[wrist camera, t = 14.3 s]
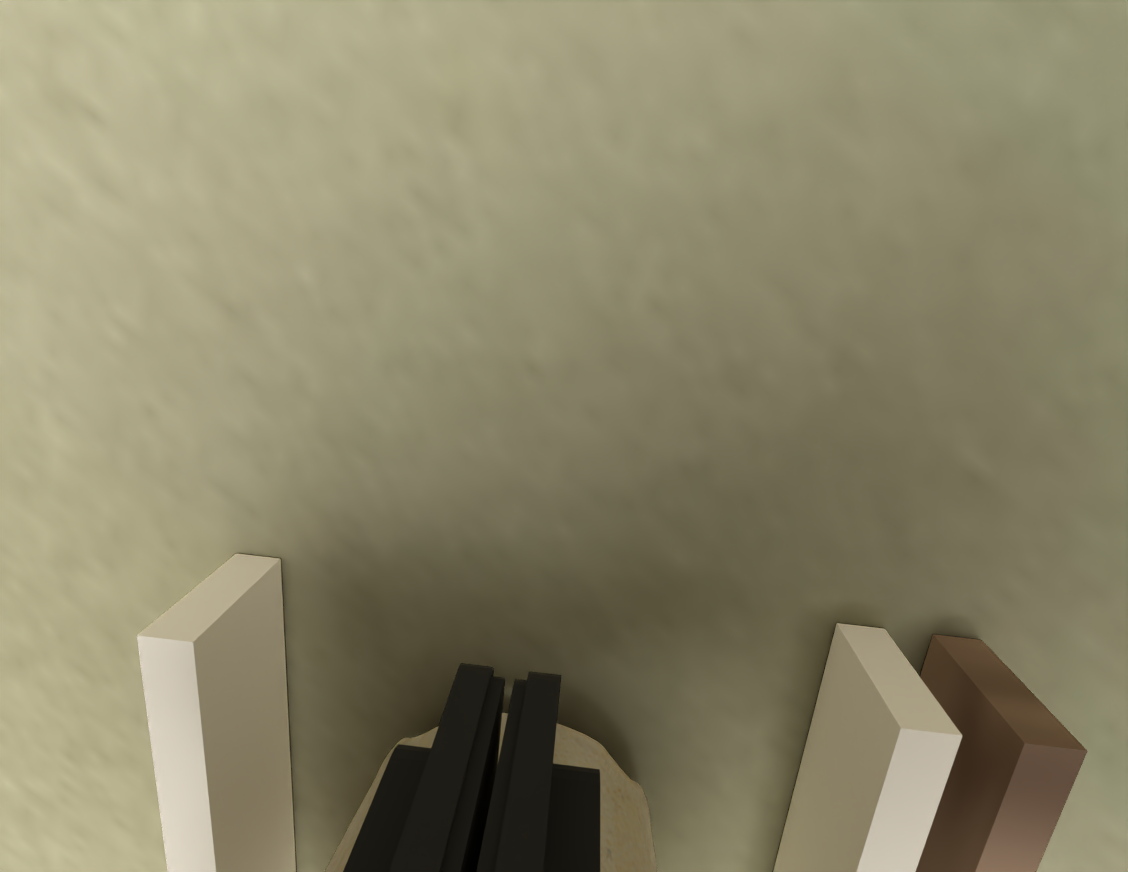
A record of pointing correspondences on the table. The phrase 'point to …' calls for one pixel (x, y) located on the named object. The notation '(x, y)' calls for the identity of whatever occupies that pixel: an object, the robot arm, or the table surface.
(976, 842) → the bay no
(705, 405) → the table surface
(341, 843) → the flower pot
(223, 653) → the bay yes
